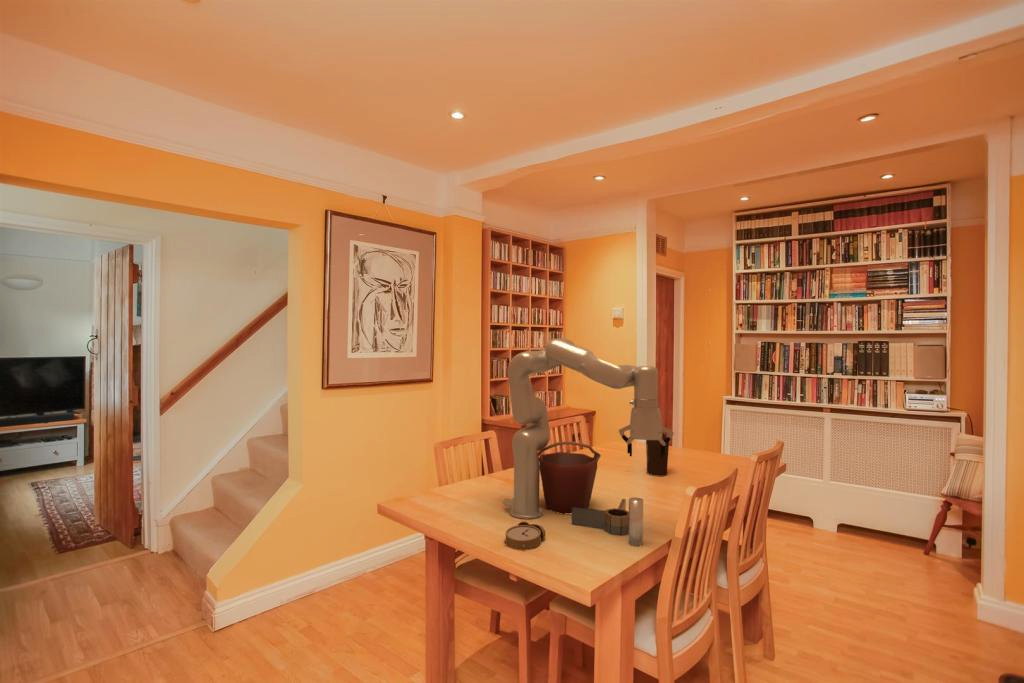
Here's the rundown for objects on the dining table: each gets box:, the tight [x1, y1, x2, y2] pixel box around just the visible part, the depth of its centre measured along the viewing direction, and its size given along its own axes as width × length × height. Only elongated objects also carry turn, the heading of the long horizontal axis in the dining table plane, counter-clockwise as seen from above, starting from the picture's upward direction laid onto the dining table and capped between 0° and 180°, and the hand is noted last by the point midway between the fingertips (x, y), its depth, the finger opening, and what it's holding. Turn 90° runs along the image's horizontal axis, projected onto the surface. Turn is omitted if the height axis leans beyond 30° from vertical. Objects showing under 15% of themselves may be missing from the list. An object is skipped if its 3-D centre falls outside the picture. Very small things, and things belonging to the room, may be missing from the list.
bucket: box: [537, 441, 601, 515], centre depth 194 cm, size 24×22×25 cm
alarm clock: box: [503, 521, 546, 551], centre depth 162 cm, size 11×5×15 cm
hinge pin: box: [627, 497, 644, 547], centre depth 161 cm, size 4×4×14 cm
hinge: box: [570, 498, 629, 536], centre depth 179 cm, size 20×20×6 cm
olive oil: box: [645, 431, 670, 476], centre depth 245 cm, size 11×11×25 cm
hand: (645, 456), depth 165 cm, fingers open, 9 cm apart
